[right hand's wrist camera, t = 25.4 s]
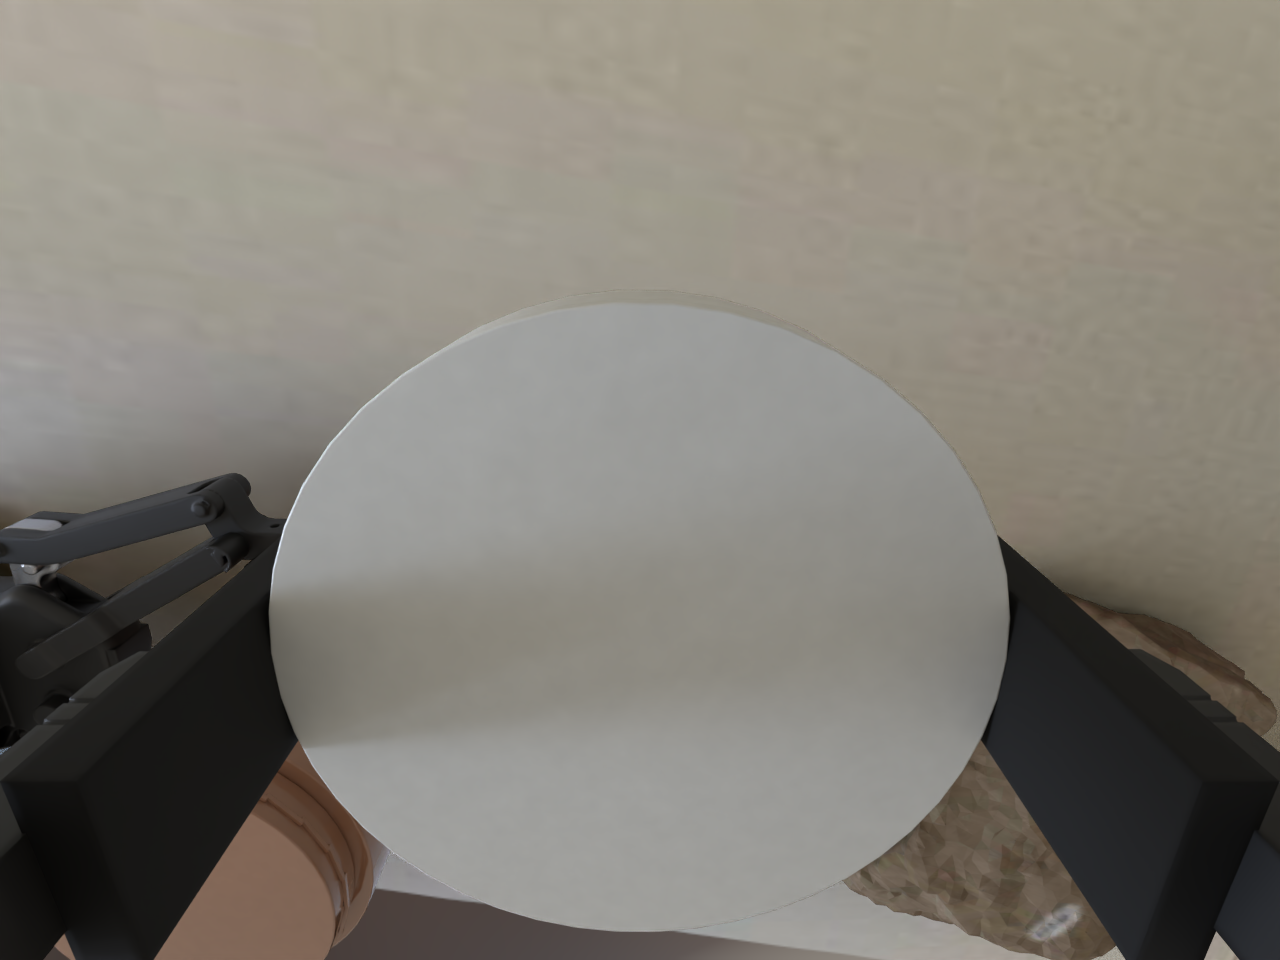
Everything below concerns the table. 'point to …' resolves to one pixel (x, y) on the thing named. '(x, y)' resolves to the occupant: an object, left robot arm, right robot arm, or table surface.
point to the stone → (1029, 828)
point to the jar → (282, 878)
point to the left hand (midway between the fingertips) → (431, 674)
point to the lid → (639, 613)
